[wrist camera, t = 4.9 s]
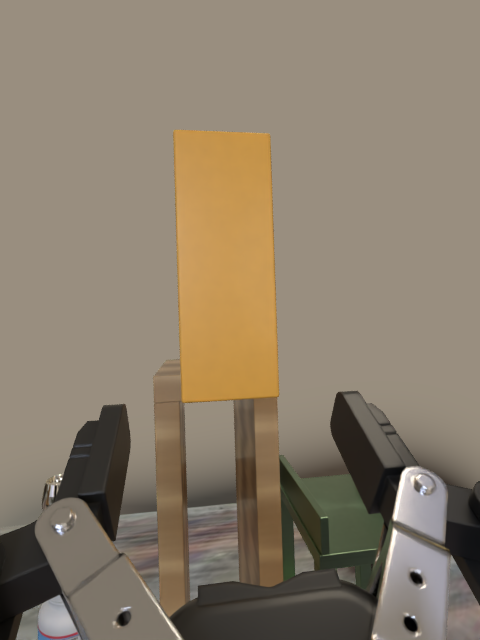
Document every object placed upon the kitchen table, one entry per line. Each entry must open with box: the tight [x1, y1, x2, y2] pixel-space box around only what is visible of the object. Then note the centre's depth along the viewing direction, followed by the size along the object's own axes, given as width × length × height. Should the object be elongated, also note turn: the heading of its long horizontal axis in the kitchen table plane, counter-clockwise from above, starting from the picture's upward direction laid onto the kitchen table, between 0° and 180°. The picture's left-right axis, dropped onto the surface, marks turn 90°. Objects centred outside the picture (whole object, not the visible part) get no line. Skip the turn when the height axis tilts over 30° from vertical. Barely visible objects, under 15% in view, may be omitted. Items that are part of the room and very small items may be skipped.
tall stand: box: [153, 359, 283, 618], centre depth 29 cm, size 12×8×32 cm, turn 8°
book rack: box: [279, 455, 384, 590], centre depth 31 cm, size 12×9×22 cm
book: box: [173, 130, 279, 403], centre depth 25 cm, size 21×4×11 cm, turn 8°
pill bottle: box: [38, 595, 81, 640], centre depth 36 cm, size 6×6×11 cm
